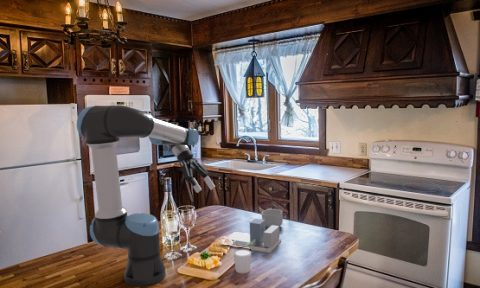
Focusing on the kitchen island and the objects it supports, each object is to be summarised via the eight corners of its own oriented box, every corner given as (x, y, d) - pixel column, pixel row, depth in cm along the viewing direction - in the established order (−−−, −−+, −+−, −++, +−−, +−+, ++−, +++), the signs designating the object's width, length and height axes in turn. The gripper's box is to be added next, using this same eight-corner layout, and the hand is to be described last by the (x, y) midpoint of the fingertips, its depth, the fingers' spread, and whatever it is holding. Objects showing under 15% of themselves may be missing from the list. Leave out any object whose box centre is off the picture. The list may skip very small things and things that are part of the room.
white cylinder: (241, 264, 148) (241, 247, 147) (255, 269, 144) (254, 251, 143) (230, 270, 143) (229, 253, 142) (244, 275, 138) (243, 257, 137)
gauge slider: (246, 245, 163) (245, 225, 162) (255, 237, 172) (255, 218, 171) (256, 247, 160) (256, 227, 159) (265, 238, 170) (265, 219, 169)
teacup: (283, 230, 186) (283, 214, 185) (262, 230, 186) (261, 215, 185) (281, 221, 199) (281, 206, 199) (261, 221, 200) (260, 207, 199)
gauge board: (220, 244, 169) (220, 227, 168) (234, 234, 181) (234, 218, 180) (269, 252, 158) (269, 234, 157) (280, 241, 171) (280, 224, 170)
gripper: (190, 157, 191) (212, 191, 186) (162, 158, 168) (187, 197, 163) (200, 148, 189) (223, 182, 184) (174, 148, 166) (199, 187, 161)
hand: (206, 189), depth 174 cm, fingers open, 13 cm apart
